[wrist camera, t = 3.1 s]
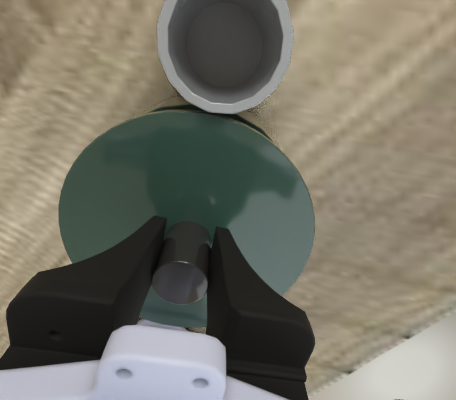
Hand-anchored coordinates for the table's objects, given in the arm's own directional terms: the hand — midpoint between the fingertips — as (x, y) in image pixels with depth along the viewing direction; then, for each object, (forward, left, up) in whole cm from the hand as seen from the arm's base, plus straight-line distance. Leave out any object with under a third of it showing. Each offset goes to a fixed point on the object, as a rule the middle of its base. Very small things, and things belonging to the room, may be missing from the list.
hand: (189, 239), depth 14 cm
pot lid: (0, 0, -1) cm, 1 cm away
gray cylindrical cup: (+7, +5, -7) cm, 11 cm away
